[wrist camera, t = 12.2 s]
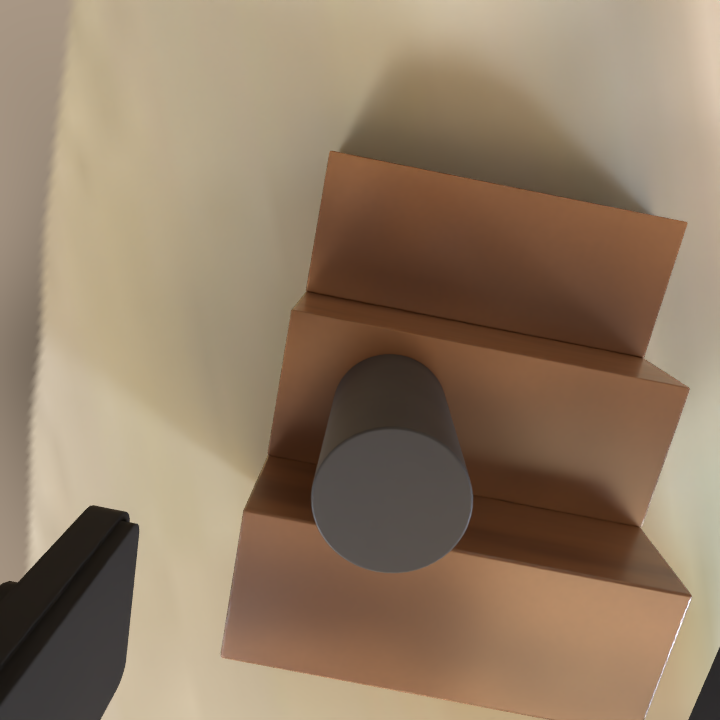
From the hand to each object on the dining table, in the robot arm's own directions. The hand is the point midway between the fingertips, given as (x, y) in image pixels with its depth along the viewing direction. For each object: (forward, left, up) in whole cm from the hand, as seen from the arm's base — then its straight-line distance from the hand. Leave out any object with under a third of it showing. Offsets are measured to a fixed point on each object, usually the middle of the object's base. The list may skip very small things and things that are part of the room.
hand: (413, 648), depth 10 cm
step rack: (0, +3, -20) cm, 20 cm away
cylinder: (+1, 0, -13) cm, 13 cm away
